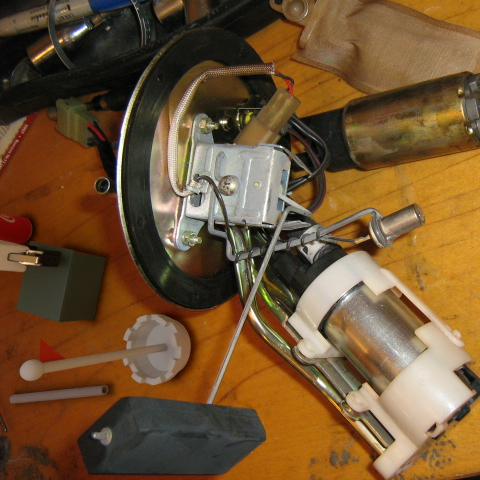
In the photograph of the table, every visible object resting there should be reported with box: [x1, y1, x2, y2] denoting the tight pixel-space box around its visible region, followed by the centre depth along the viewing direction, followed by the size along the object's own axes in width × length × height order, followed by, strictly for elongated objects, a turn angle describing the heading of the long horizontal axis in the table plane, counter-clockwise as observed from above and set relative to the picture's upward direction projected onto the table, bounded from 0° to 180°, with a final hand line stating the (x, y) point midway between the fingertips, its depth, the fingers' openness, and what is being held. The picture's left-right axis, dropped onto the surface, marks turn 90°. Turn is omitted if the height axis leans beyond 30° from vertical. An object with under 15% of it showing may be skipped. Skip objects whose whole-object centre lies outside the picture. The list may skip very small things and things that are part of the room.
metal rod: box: [9, 384, 109, 405], centre depth 99 cm, size 2×27×2 cm, turn 98°
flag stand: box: [19, 313, 192, 386], centre depth 77 cm, size 13×13×30 cm
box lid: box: [16, 240, 77, 323], centre depth 92 cm, size 14×13×6 cm
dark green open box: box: [61, 250, 107, 323], centre depth 98 cm, size 14×13×8 cm
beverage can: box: [0, 213, 33, 244], centre depth 104 cm, size 6×6×12 cm
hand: (46, 256), depth 93 cm, fingers closed on box lid, 6 cm apart
